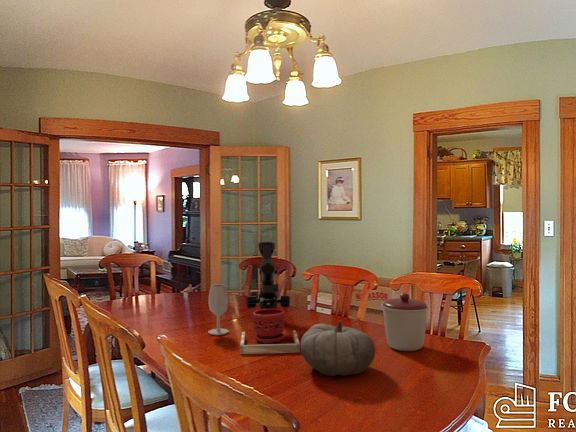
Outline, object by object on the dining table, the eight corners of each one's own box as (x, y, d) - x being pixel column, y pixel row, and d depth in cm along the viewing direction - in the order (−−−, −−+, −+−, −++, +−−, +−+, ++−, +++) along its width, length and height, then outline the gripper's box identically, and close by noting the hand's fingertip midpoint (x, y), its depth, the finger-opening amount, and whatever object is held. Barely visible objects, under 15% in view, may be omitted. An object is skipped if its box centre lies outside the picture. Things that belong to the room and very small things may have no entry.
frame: (242, 339, 184) (242, 331, 184) (295, 337, 185) (295, 330, 185) (240, 354, 165) (240, 346, 164) (300, 352, 166) (299, 344, 166)
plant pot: (286, 336, 188) (286, 307, 187) (282, 345, 175) (282, 315, 174) (256, 335, 189) (256, 307, 189) (250, 344, 176) (249, 314, 176)
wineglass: (232, 332, 193) (232, 285, 193) (216, 337, 187) (216, 287, 186) (220, 329, 199) (219, 282, 199) (204, 333, 193) (203, 285, 192)
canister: (372, 344, 176) (371, 291, 175) (408, 338, 183) (408, 287, 183) (400, 357, 159) (400, 299, 159) (439, 351, 166) (439, 295, 166)
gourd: (318, 382, 130) (319, 322, 133) (286, 369, 153) (287, 317, 156) (389, 378, 140) (388, 322, 143) (348, 366, 162) (348, 318, 165)
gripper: (246, 277, 193) (246, 308, 182) (289, 277, 194) (291, 307, 183) (247, 292, 201) (246, 322, 190) (288, 291, 202) (290, 321, 191)
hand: (268, 318), depth 188 cm, fingers closed
